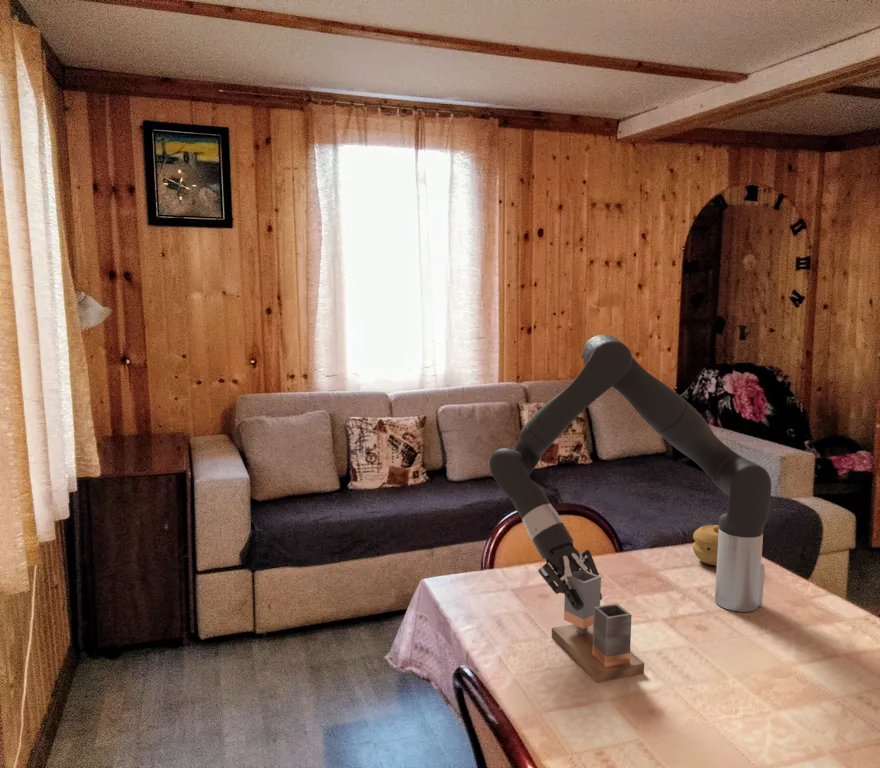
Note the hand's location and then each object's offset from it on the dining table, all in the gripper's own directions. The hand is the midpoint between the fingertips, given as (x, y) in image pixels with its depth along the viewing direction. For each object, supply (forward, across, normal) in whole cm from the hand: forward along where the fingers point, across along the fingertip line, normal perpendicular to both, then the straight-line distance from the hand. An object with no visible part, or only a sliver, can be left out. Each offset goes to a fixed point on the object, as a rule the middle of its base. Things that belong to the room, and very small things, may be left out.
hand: (589, 604), depth 146 cm
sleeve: (+2, 0, +4) cm, 4 cm away
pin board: (+8, -2, +4) cm, 9 cm away
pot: (0, +60, +12) cm, 61 cm away
